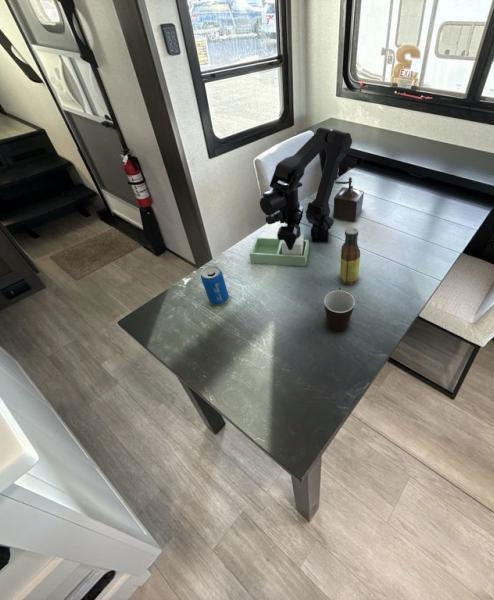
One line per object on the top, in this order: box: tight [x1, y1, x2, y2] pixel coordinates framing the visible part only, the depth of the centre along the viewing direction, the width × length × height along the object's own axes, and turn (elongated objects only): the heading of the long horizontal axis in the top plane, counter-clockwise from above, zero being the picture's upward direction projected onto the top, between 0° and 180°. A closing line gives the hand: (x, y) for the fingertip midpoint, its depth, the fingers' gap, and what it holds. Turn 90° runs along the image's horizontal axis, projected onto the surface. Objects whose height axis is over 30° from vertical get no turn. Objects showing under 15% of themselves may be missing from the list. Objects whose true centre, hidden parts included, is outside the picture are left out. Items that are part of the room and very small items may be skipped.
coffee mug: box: [323, 286, 356, 333], centre depth 92 cm, size 12×9×10 cm
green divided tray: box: [249, 236, 310, 267], centre depth 117 cm, size 11×20×4 cm, turn 83°
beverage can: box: [200, 265, 230, 306], centre depth 99 cm, size 6×6×12 cm
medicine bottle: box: [281, 224, 304, 256], centre depth 113 cm, size 7×7×12 cm
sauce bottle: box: [339, 226, 361, 285], centre depth 101 cm, size 7×6×20 cm
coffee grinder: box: [332, 167, 365, 222], centre depth 132 cm, size 16×11×18 cm
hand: (292, 242), depth 113 cm, fingers open, 9 cm apart
